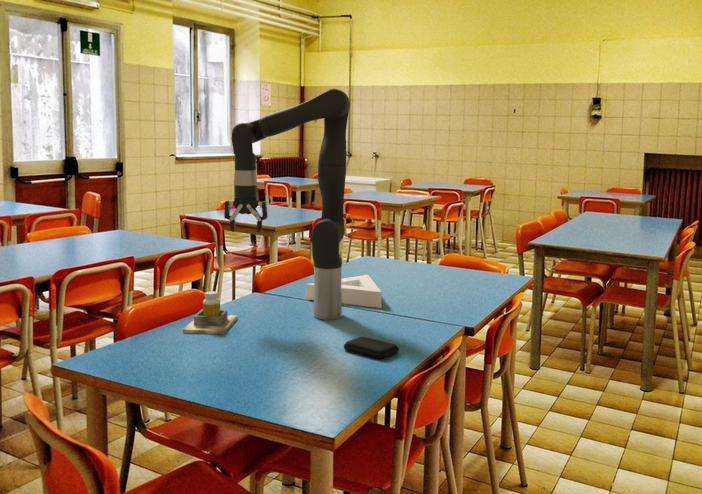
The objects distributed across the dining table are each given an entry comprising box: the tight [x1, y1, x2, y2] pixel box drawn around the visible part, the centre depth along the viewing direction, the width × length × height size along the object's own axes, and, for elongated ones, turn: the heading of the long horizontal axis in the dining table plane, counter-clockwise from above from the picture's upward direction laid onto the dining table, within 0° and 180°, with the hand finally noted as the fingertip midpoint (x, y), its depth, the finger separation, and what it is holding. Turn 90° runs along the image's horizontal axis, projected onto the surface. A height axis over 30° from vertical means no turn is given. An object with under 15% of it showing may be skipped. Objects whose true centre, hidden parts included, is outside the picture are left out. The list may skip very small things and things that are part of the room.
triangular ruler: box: [305, 274, 383, 309], centre depth 264 cm, size 30×26×6 cm
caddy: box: [182, 308, 238, 335], centre depth 222 cm, size 13×18×4 cm
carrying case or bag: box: [343, 336, 400, 361], centre depth 198 cm, size 11×3×15 cm
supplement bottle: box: [202, 290, 221, 316], centre depth 221 cm, size 5×5×10 cm
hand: (246, 231), depth 233 cm, fingers open, 8 cm apart
